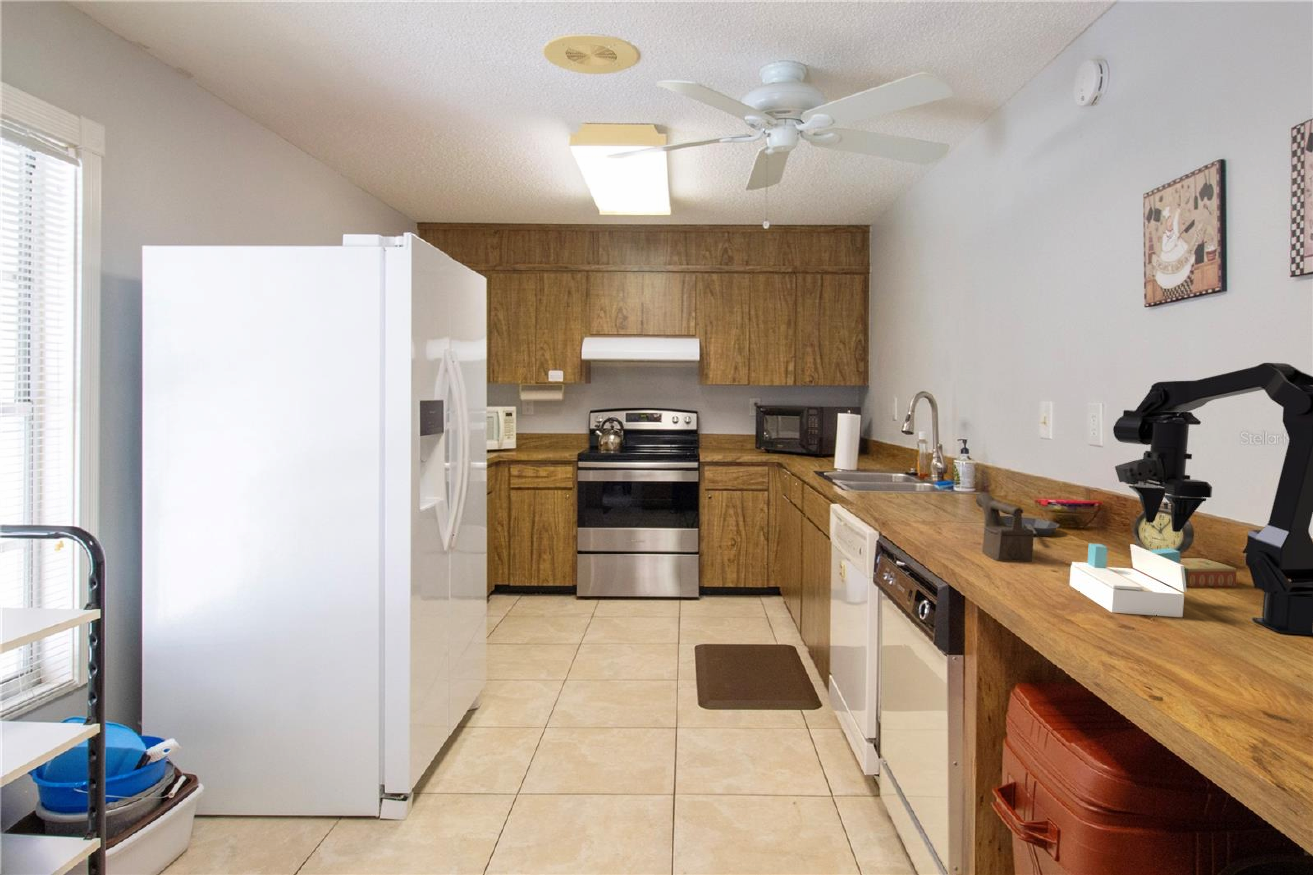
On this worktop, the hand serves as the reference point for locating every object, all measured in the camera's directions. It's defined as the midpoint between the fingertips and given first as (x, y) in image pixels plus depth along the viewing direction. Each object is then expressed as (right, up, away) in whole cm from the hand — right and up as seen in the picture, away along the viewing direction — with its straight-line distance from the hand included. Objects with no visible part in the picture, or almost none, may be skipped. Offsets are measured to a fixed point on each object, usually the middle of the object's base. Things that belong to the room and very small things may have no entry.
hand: (1162, 527), depth 135 cm
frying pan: (-1, -9, +49) cm, 50 cm away
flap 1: (-16, -8, -8) cm, 20 cm away
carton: (+9, -12, +7) cm, 16 cm away
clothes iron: (-19, -10, +26) cm, 33 cm away
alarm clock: (+18, -11, +24) cm, 32 cm away
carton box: (-13, -12, -8) cm, 20 cm away
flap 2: (-8, -6, -9) cm, 14 cm away
